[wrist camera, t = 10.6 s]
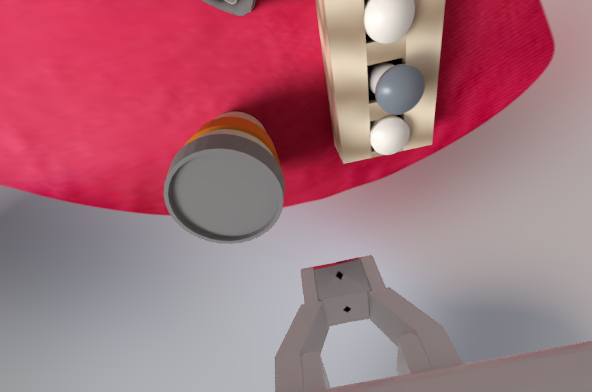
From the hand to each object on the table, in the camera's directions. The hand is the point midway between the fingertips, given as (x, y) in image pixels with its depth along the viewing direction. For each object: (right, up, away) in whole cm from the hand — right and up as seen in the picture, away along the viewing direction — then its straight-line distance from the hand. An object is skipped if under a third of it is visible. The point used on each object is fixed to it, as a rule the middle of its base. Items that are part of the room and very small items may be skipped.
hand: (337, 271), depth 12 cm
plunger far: (+9, +14, +29) cm, 33 cm away
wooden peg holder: (+8, +20, +25) cm, 33 cm away
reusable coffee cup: (-10, +11, +29) cm, 33 cm away
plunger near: (+7, +25, +21) cm, 33 cm away
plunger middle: (+8, +18, +22) cm, 30 cm away
